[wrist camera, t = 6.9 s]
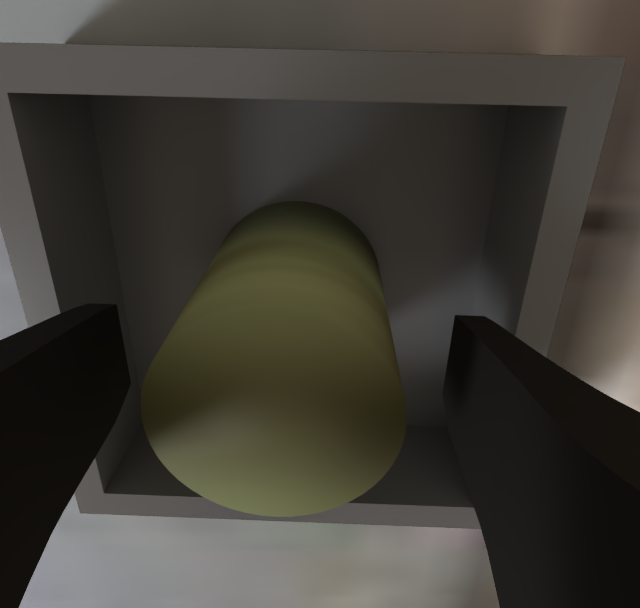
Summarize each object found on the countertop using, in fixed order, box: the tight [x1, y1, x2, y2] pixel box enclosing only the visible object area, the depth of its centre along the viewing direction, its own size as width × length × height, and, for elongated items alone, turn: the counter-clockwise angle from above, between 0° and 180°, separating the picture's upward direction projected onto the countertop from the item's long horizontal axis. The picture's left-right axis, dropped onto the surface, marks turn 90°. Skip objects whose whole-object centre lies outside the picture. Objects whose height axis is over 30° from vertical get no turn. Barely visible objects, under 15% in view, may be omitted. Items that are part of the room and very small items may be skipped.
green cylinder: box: [140, 201, 407, 517], centre depth 11 cm, size 5×5×6 cm
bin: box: [0, 43, 626, 529], centre depth 13 cm, size 12×12×4 cm
